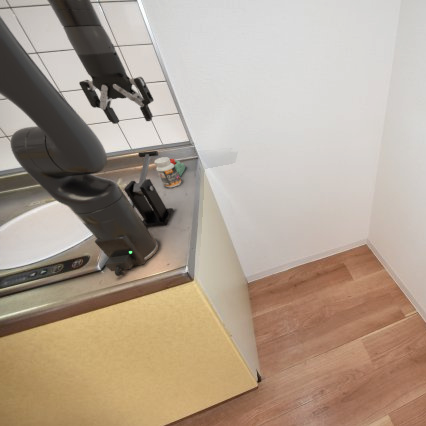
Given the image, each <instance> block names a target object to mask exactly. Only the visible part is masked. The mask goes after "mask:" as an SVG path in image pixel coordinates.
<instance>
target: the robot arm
mask: <svg viewBox="0 0 426 426" xmlns="http://www.w3.org/2000/svg"><path fill="white" fill-rule="evenodd" d="M46 1H47V2H48V4H49V5H50V7H51V8H52V10H53V12H54V14H55V16H56V17H57V19H58V21H59V23H60V25H61V26H62V28H63V30H64V33H65V34H66V37H67V40H68V41H69V43H70V45H71V47H72V49H73V50H74V53H75V54H76V55H77V58H78V59H79V60H80V62H81V64H82V66H83V68H84V69H85V71H86V73H87V75H89V76H90V78H91V80H90V79H84V80H82V81H79V83H78V84H79V86H80V88H81V90H82V92H83V94H84V95H85V97H86V99H87V101H88V102H89V105H90V106H91V107H92V108H94V109H95V108H97V109H101V110H102V111H103V113H104V114H105V116H106V118H107V120H108V121H109V122H110V123H112V124H113V125H117V124H118V123H120V118H119V117H118V115H117V114H116V112H115V109H113V107H111V105H112V100H117V99H128V100H130V101H131V102H134V103H135V104H137V105H138V106H139V110H140V111H141V114H142V115H143V118H144V120H145V121H146V122H151V121H152V120H153V116H154V115H153V113H152V111H151V109H150V107H149V105H150V104H151V103H153V102H154V97H153V95H152V93H151V91H150V89H149V88H148V85H147V84H146V82H145V80H144V78H143V77H142V76H137V77H134V78H130V77H129V76H128V74H127V72H126V69H125V66H124V65H123V63H122V61H121V59H120V57H119V54H118V52H117V50H116V46H115V45H114V43H113V42H112V39H111V38H110V36H109V33H108V32H107V31H106V29H105V28H104V26H103V24H102V22H101V19H100V18H99V16H98V13H97V12H96V9H95V8H94V5H93V3H92V1H91V0H46ZM133 86H134V87H135V88H137V89H138V91H139V92H138V91H137V90H135V89H134V88H133ZM96 89H97V90H98V91H99V92H100V97H99V95H98V93H97V91H96ZM0 95H1V96H3V98H6V99H7V100H8V101H10V102H11V103H12V104H13V105H14V106H16V107H17V108H18V109H20V110H21V111H22V112H23V113H24V114H25V115H26V116H27V117H28V118H29V119H30V120H31V121H32V122H33V123H34V124H35V125H36V126H28V127H23V128H20V129H18V130H16V131H15V132H14V133H13V134H12V135H11V137H10V141H9V142H10V149H11V152H12V154H13V156H14V158H15V160H16V161H17V163H18V164H19V165H20V167H22V169H23V170H24V171H25V172H26V173H27V174H28V175H29V176H30V177H31V178H32V179H33V180H34V181H35V182H36V183H37V184H38V185H39V186H40V187H41V188H42V189H43V190H45V192H46V193H48V195H50V196H51V197H52V198H53V199H54V200H55V201H56V202H58V203H60V204H62V205H64V206H65V207H67V208H69V209H70V211H72V213H73V214H74V215H75V216H76V217H77V218H78V219H79V221H80V222H81V223H82V224H83V225H84V226H85V227H86V228H87V229H88V231H89V232H90V233H91V234H92V235H93V236H94V237H95V238H96V239H95V240H94V243H95V244H96V245H97V247H98V248H99V249H100V250H101V251H102V252H103V253H104V254H105V255H106V256H107V258H108V259H107V260H106V262H105V263H104V265H105V267H107V268H108V270H109V271H110V272H114V275H115V276H116V277H121V276H123V275H124V274H125V273H124V271H123V270H131V269H132V268H133V267H135V266H142V265H145V263H146V262H147V261H148V260H150V259H151V258H152V257H153V256H154V255H155V254H156V253H157V252H158V250H159V243H158V241H157V240H156V239H155V238H154V236H153V234H152V233H151V232H150V231H149V229H148V227H146V226H145V224H144V223H143V220H142V217H140V215H139V214H138V212H137V211H136V209H135V207H133V205H132V203H131V202H130V200H129V199H128V198H127V196H126V195H125V192H124V191H123V190H122V189H121V188H120V186H119V185H118V184H117V182H115V181H114V180H112V179H109V178H104V177H101V176H97V175H94V174H98V173H100V172H102V171H104V170H105V168H106V167H107V163H108V155H107V152H106V149H105V146H104V145H103V143H102V142H101V139H100V138H99V137H98V136H97V134H96V133H95V132H94V131H93V129H92V128H91V127H90V126H89V124H87V122H86V121H85V120H84V119H83V118H82V117H81V116H80V115H79V114H78V112H77V111H76V110H75V109H74V107H72V105H71V104H70V103H69V102H68V101H67V100H66V98H64V97H63V95H62V94H61V93H60V92H59V91H58V90H57V88H56V87H55V86H54V85H53V84H52V82H51V81H50V80H49V79H48V78H47V76H46V74H44V72H43V71H42V70H41V68H40V67H39V65H37V63H36V62H35V61H34V60H33V58H32V57H31V56H30V54H29V53H28V52H27V50H26V49H25V48H24V47H23V45H22V44H21V43H20V41H19V40H18V39H17V37H16V36H15V35H14V33H13V32H12V31H11V29H10V28H9V26H8V25H7V23H6V22H5V20H4V18H2V15H0Z"/></svg>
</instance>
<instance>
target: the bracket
mask: <svg viewBox="0 0 426 426" xmlns="http://www.w3.org/2000/svg"><path fill="white" fill-rule="evenodd" d="M135 183H137V182H136V180H130V182H129V183H128V184H127V185H126V186H125V188H123V191H124V193H126V195H127V196H128V198H129V199H130V201H131V203H132V204H133V206H134V208H136V210H137V211H138V213H139V214H140V216H141V218H142V219H143V220H142V221H143V223H144V224H145V226H146V227H147V228H152V227H161V226H162V227H163V226H167V225H168V223H169V221H170V219H171V217H172V215H173V213H174V212H175V210H174V208H173V207H169V208H167V207H166V205H165V203H164V202H163V200H162V198H161V196H160V195H159V193H158V190H157V189H156V188H155V186H154V184H153V182H152V180H151V179H150V178H146V180H145V182H144V183H143V184H142V185H141V187H140V189H141V191H142V193H143V194H144V196H137V195H136V194H135V193H134V192H133V188H134V184H135Z"/></svg>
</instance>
